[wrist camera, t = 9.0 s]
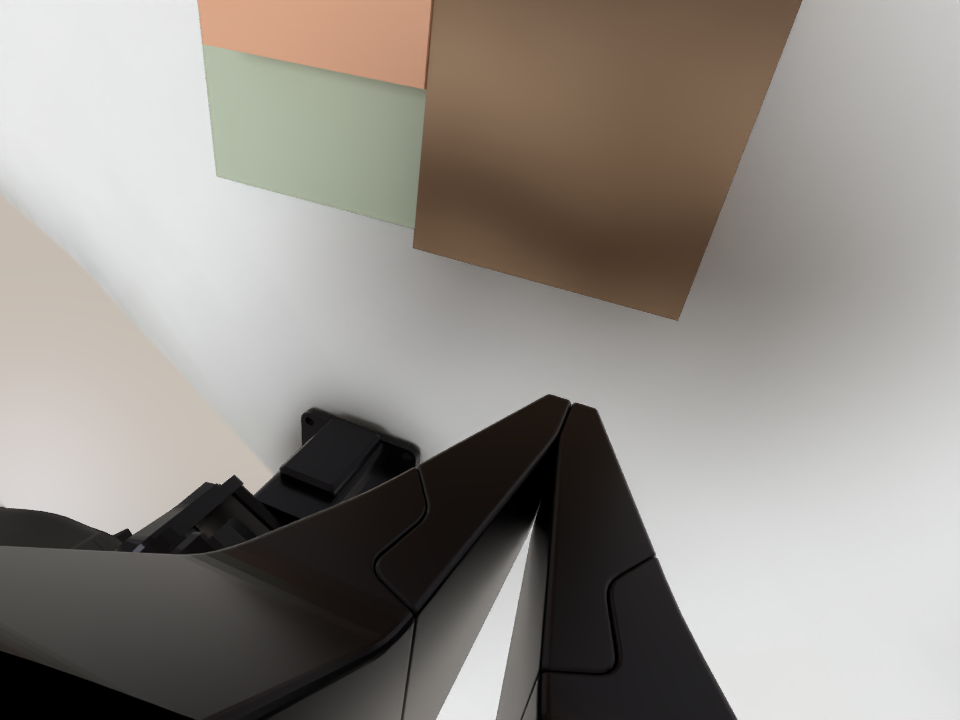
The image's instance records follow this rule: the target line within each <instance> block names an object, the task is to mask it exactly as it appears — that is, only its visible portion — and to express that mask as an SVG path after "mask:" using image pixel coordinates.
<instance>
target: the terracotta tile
mask: <svg viewBox="0 0 960 720" xmlns="http://www.w3.org/2000/svg"><path fill="white" fill-rule="evenodd" d="M433 6H434V0H198V7H199V16H200V26H201V35H202V44H204V45H209V46H214V47H219V48H224V49H229V50H234V51H239V52H244V53H248V54H253V55H258V56H263V57H268V58H273V59H278V60H283V61H288V62H293V63H297V64H302V65H307V66H312V67H317V68H322V69H327V70H332V71H337V72H341V73H346V74H351V75H356V76H361V77H366V78H371V79H376V80H381V81H386V82H390V83H395V84H400V85H405V86H410V87H415V88H420V89H426V88H427V77H428V65H429V53H430V41H431V30H432V18H433Z"/></svg>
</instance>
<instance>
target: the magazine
mask: <svg viewBox="0 0 960 720" xmlns="http://www.w3.org/2000/svg"><path fill="white" fill-rule="evenodd" d="M131 536H132V534H131V532H130V531H129V529H125V530H123V531H121V532H119V533H117V534H115V535H110V534H108V533H106V532H103V531H100V530H98V529H95V528H92V527H89V526H87V525H84V524H82V523H80V522H77V521H75V520H73V519H70V518H68V517H65V516H61V515H58V514H54V513H48V512H43V511H35V510H27V509H14V508H0V546H13V547H34V548H54V549H74V550H94V551H114V552H115V550H116V549H117V548H118V547H119V546H120V545H121V544H122V543H123V542H124V541H125V540H127V539H128V538H129V537H131Z"/></svg>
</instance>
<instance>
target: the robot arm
mask: <svg viewBox="0 0 960 720" xmlns="http://www.w3.org/2000/svg"><path fill="white" fill-rule="evenodd" d="M311 418H312V419H311ZM301 424H302V447H301V448H300V449H299V450H298V451H297V452H296V453H295V454H294V455H293V456H291V457H290V458H289V459H288V460H287V461H286V462H285V463H284V464H283V465H282V466H281V467H280V471H279V472H278V473H277V474H276V475H275V476H273V477H272V478H271V479H270V480H269V481H268V482H267V483H266V484H265V485H264V486H263V487H262V488H261V489H260V490H259V491H258V492H257V493H256V494H255V495H252V494H251V493H250V492H249V491H248V490H247V489H246V488H245V487H244V486H243V482H242V481H241V480H240V479H238V478H237V477H236V476H235V475H233V476H232V477H231V478H230V479H228V480H227V481H226V482H225V483H224V484H222V485H221V484H219V485H218V484H212V483H208V482H205V483H204V484H203V485H202V486H201V487H199V488H198V489H197V490H196V491H194V492H193V493H192V494H191V495H190V496H188V497H187V498H186V499H185V500H183V501H182V502H181V503H180V504H178V505H177V506H176V507H174V508H173V509H172V510H170V511H169V512H167V513H166V514H164V515H163V516H161V517H160V518H158V519H157V520H155V521H154V522H152V523H151V524H149V525H148V526H146V527H145V528H143V529H142V530H140V531H139V532H137V533H135V534H134V535H132V536H131V537H129V538H128V539H127V540H125V541H124V542H123V543H122V544H121V545H120V546H119V547H118V548H117V549H116V550H115V552H114V551H94V550H74V549H54V548H34V547H13V546H0V720H436V718H437V716H438V714H439V712H440V710H441V708H442V706H443V704H444V702H445V700H446V698H447V696H448V694H449V692H450V690H451V688H452V686H453V684H454V682H455V680H456V678H457V676H458V674H459V672H460V670H461V668H462V666H463V664H464V662H465V660H466V658H467V656H468V654H469V652H470V650H471V648H472V646H473V644H474V642H475V640H476V638H477V636H478V634H479V632H480V630H481V628H482V626H483V624H484V622H485V620H486V618H487V616H488V614H489V612H490V610H491V608H492V606H493V604H494V602H495V600H496V598H497V596H498V594H499V592H500V590H501V588H502V586H503V584H504V582H505V580H506V578H507V576H508V574H509V572H510V570H511V568H512V566H513V564H514V562H515V560H516V558H517V556H518V554H519V552H520V550H521V548H522V546H523V544H524V542H525V540H526V538H527V536H528V534H529V531H530V529H531V527H532V525H533V522H534V519H535V517H536V519H535V522H534V525H533V530H532V534H531V539H530V544H529V549H528V554H527V559H526V565H525V570H524V575H523V580H522V586H521V591H520V596H519V601H518V607H517V612H516V617H515V622H514V628H513V633H512V638H511V643H510V649H509V654H508V659H507V664H506V669H505V675H504V680H503V685H502V690H501V696H500V701H499V706H498V711H497V717H496V720H737V718H736V716H735V714H734V712H733V710H732V709H731V707H730V705H729V703H728V701H727V699H726V697H725V696H724V694H723V692H722V690H721V688H720V686H719V685H718V683H717V681H716V679H715V677H714V675H713V674H712V672H711V670H710V668H709V666H708V664H707V663H706V661H705V659H704V657H703V655H702V653H701V651H700V649H699V647H698V645H697V643H696V642H695V640H694V638H693V636H692V634H691V632H690V630H689V628H688V626H687V624H686V622H685V620H684V618H683V616H682V614H681V612H680V610H679V607H678V605H677V603H676V601H675V598H674V596H673V594H672V592H671V589H670V587H669V585H668V583H667V580H666V578H665V575H664V573H663V570H662V568H661V565H660V563H659V560H658V559H657V558H656V557H655V556H656V554H655V551H654V549H653V546H652V544H651V541H650V539H649V536H648V534H647V531H646V529H645V526H644V524H643V522H642V519H641V517H640V514H639V512H638V509H637V507H636V504H635V502H634V499H633V497H632V494H631V492H630V490H629V487H628V485H627V482H626V480H625V477H624V475H623V472H622V470H621V467H620V465H619V462H618V460H617V458H616V455H615V453H614V450H613V448H612V445H611V443H610V440H609V438H608V435H607V433H606V430H605V428H604V425H603V423H602V421H601V418H600V416H599V413H598V411H597V410H596V409H595V408H592V407H589V406H586V405H582V404H579V403H573V404H572V405H571V402H570V401H569V400H567V399H564V398H560V397H557V396H554V395H551V394H548V395H546V396H544V397H542V398H540V399H538V400H536V401H535V402H533V403H531V404H529V405H527V406H525V407H524V408H522V409H520V410H518V411H516V412H514V413H513V414H511V415H509V416H507V417H505V418H503V419H502V420H500V421H498V422H496V423H494V424H492V425H491V426H489V427H487V428H485V429H483V430H481V431H480V432H478V433H476V434H474V435H472V436H470V437H469V438H467V439H465V440H463V441H461V442H459V443H458V444H456V445H454V446H452V447H450V448H448V449H447V450H445V451H443V452H441V453H439V454H437V455H435V456H434V457H432V458H430V459H428V460H426V461H424V462H423V463H421V464H419V452H418V450H417V449H416V448H415V447H414V446H412V445H410V444H407V443H405V442H402V441H399V440H396V439H394V438H391V437H388V436H386V435H383V434H380V433H377V432H375V431H372V430H369V429H366V428H364V427H361V426H358V425H356V424H353V423H350V422H347V421H345V420H342V419H339V418H336V417H334V416H331V415H328V414H326V413H323V412H320V411H317V410H315V409H308V410H307V411H306V412H305V413H304V414H303V415H302V417H301ZM406 453H407V454H409V455H410V456H411V457H410V456H408V455H407V454H406ZM537 511H538V512H537ZM536 514H537V515H536Z"/></svg>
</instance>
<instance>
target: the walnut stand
mask: <svg viewBox="0 0 960 720" xmlns="http://www.w3.org/2000/svg"><path fill="white" fill-rule="evenodd" d="M801 2H802V0H434V6H433V18H432V30H431V41H430V53H429V65H428V77H427V88H426V100H425V112H424V124H423V135H422V147H421V159H420V170H419V182H418V194H417V206H416V217H415V229H414V241H413V248H415V249H418V250H422V251H426V252H429V253H433V254H437V255H440V256H444V257H447V258H451V259H455V260H458V261H462V262H466V263H469V264H473V265H477V266H480V267H484V268H487V269H491V270H495V271H498V272H502V273H506V274H509V275H513V276H517V277H520V278H524V279H528V280H531V281H535V282H538V283H542V284H546V285H549V286H553V287H557V288H560V289H564V290H568V291H571V292H575V293H579V294H582V295H586V296H589V297H593V298H597V299H600V300H604V301H608V302H611V303H615V304H619V305H622V306H626V307H629V308H633V309H637V310H640V311H644V312H648V313H651V314H655V315H659V316H662V317H666V318H670V319H673V320H677V321H678V319H679V317H680V314H681V312H682V309H683V306H684V304H685V301H686V299H687V296H688V294H689V291H690V288H691V286H692V283H693V281H694V278H695V276H696V273H697V270H698V268H699V265H700V263H701V260H702V257H703V255H704V252H705V250H706V247H707V245H708V242H709V239H710V237H711V234H712V232H713V229H714V227H715V224H716V221H717V219H718V216H719V214H720V211H721V209H722V206H723V203H724V201H725V198H726V196H727V193H728V190H729V188H730V185H731V183H732V180H733V178H734V175H735V172H736V170H737V167H738V165H739V162H740V160H741V157H742V154H743V152H744V149H745V147H746V144H747V142H748V139H749V136H750V134H751V131H752V129H753V126H754V124H755V121H756V118H757V116H758V113H759V111H760V108H761V105H762V103H763V100H764V98H765V95H766V93H767V90H768V87H769V85H770V82H771V80H772V77H773V75H774V72H775V69H776V67H777V64H778V62H779V59H780V57H781V54H782V51H783V49H784V46H785V44H786V41H787V38H788V36H789V33H790V31H791V28H792V26H793V23H794V20H795V18H796V15H797V13H798V10H799V8H800V5H801Z"/></svg>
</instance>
